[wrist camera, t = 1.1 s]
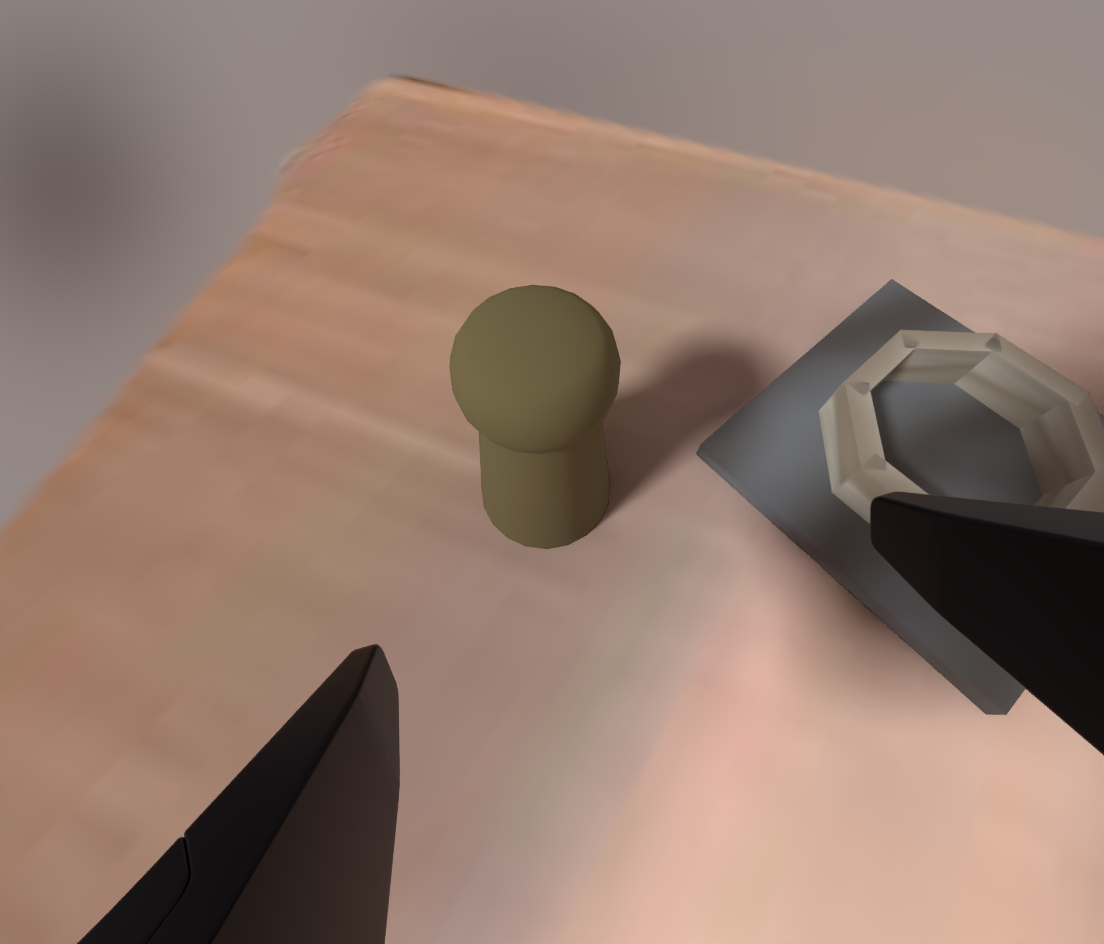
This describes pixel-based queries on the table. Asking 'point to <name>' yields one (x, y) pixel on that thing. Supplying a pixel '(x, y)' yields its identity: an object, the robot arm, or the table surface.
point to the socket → (910, 454)
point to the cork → (538, 410)
